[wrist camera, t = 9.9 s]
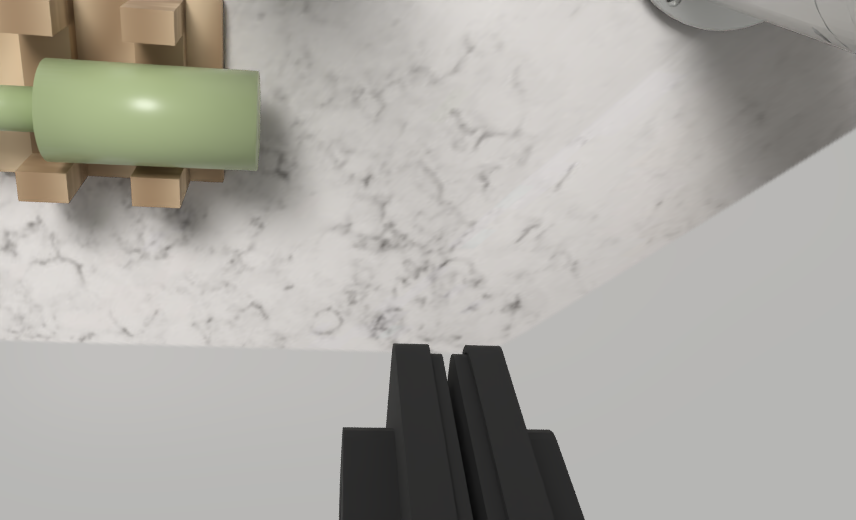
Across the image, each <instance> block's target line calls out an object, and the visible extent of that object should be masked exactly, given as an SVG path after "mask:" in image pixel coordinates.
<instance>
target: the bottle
mask: <svg viewBox="0 0 856 520" xmlns="http://www.w3.org/2000/svg"><path fill="white" fill-rule="evenodd" d="M0 131H15V132H34V135H35V139H36V143H37V146H38V149H39V152H40V154H41V156H42V157H43V158H44V160H46V161H47V162H63V163H86V164H109V165H132V166H155V167H178V168H201V169H224V170H247V171H257V169H258V161H259V147H260V75H259V71H249V70H233V69H218V68H202V67H186V66H170V65H154V64H138V63H122V62H107V61H91V60H75V59H59V58H44V59H42V60H41V62H40V63H39V65H38V67H37V70H36V73H35V77H34V83H33V87H32V86H15V85H0Z"/></svg>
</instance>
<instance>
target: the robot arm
mask: <svg viewBox="0 0 856 520" xmlns="http://www.w3.org/2000/svg"><path fill="white" fill-rule="evenodd" d="M650 1H651V2H652V3H653V4H654V5H655V6H656V7H657V8H659V9H660V10H661V11H663V12H664V13H665V14H667V15H668V16H669V17H671V18H673V19H675V20H677V21H679V22H681V23H683V24H686V25H689V26H692V27H696V28H699V29H702V30H711V31H731V30H739V29H744V28H748V27H751V26H754V25H757V24H760V23H763V22H765V21H766V22H768V23H771V24H774V25H777V26H779V27H782V28H785V29H788V30H791V31H793V32H796V33H799V34H802V35H805V36H807V37H810V38H813V39H816V40H818V41H821V42H824V43H827V44H830V45H832V46H835V47H838V48H841V49H843V50H846V51H849V52H852V53H855V54H856V0H668V1H666V0H650ZM342 433H343V434H342V450H341V473H340V500H339V520H585V519H584V516H583V514H582V511H581V508H580V505H579V502H578V499H577V497H576V494H575V491H574V488H573V485H572V483H571V480H570V477H569V474H568V471H567V469H566V465H565V463H564V460H563V457H562V454H561V452H560V449H559V446H558V443H557V440H556V438H555V436H554V434H553V432H552V431H550V430H527V429H526V426H525V423H524V419H523V416H522V413H521V410H520V407H519V403H518V400H517V397H516V393H515V390H514V387H513V384H512V381H511V377H510V374H509V371H508V368H507V365H506V361H505V358H504V354H503V351H502V349H501V347H500V346H477V345H465V347H464V349H463V354H452V355H451V358H450V364H449V373H448V381H447V377H446V372H445V367H444V361H443V356H442V354H430V348H429V345H428V344H393V349H392V360H391V371H390V384H389V396H388V410H387V422H386V428H353V427H351V428H350V427H347V428H346V427H345V428H344V427H343V432H342Z"/></svg>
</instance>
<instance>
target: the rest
mask: <svg viewBox="0 0 856 520" xmlns="http://www.w3.org/2000/svg"><path fill="white" fill-rule="evenodd" d="M44 58H59V59H75V60H91V61H107V62H122V63H138V64H154V65H170V66H186V67H202V68H218V69H223V0H0V85H15V86H32V87H33V83H34V77H35V73H36V70H37V67H38V65H39V63H40V62H41V60H42V59H44ZM0 171H1V172H15V176H16V184H17V192H18V200H19V201H28V202H51V203H69V202H70V201H71V199H72V198H73V197H74V195H75V194H76V192H77V191H78V189H79V188H80V187H81V185H82V184H83V182H84V181H85V179H86V178H87V176H103V177H123V178H130V179H131V195H132V206H142V207H165V208H180V207H181V205H182V202H183V199H184V197H185V194H186V191H187V188H188V186H189V183H190V181H204V182H223V180H224V169H201V168H178V167H155V166H132V165H109V164H86V163H63V162H47V161H46V160H44V158H43V157H42V156H41V154H40V152H39V149H38V146H37V143H36V139H35V135H34V132H15V131H0Z"/></svg>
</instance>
